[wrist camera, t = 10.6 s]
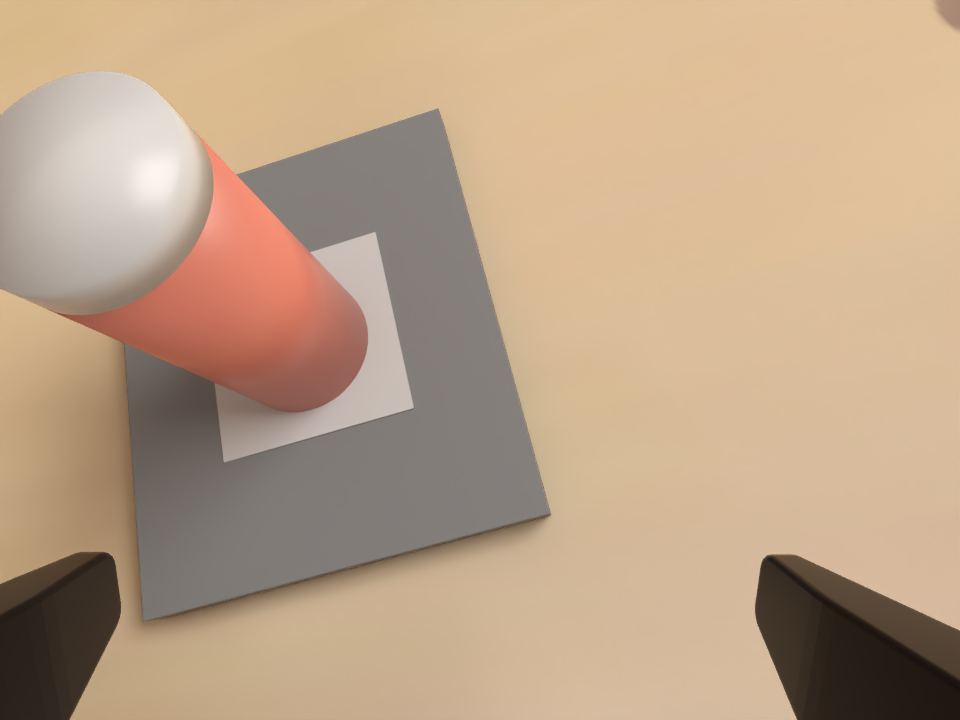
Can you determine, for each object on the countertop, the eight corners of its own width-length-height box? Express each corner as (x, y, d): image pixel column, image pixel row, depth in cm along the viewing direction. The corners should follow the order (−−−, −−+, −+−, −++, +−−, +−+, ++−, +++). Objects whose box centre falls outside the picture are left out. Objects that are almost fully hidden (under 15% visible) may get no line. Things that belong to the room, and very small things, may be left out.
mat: (551, 515, 21) (549, 513, 20) (162, 618, 22) (141, 621, 21) (443, 124, 26) (437, 107, 25) (131, 226, 27) (113, 213, 26)
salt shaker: (352, 420, 22) (135, 304, 12) (222, 403, 23) (-85, 282, 13) (380, 285, 23) (208, 72, 13) (256, 275, 24) (3, 69, 14)
